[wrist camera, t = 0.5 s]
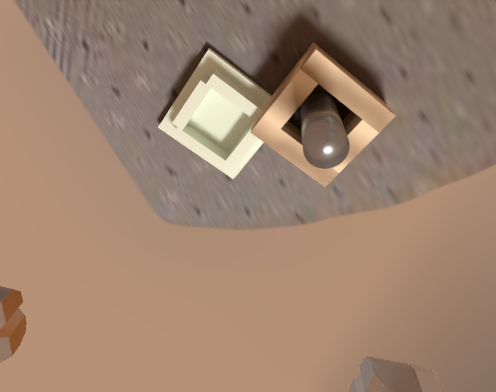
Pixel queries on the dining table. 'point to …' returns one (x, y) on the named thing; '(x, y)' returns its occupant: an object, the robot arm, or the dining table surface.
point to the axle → (323, 132)
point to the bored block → (293, 95)
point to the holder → (218, 114)
